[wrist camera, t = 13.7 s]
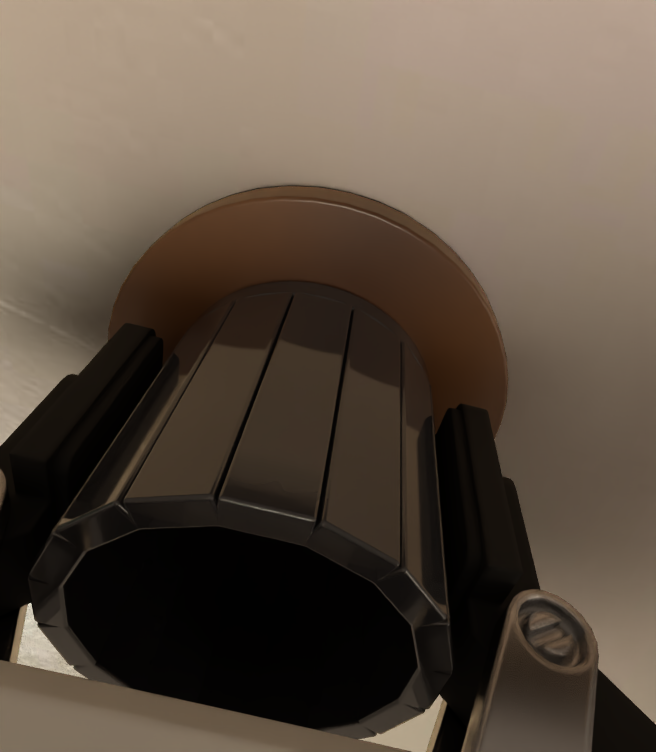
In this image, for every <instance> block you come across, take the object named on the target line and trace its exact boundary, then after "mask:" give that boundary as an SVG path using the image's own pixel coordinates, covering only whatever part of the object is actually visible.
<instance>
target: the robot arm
mask: <svg viewBox="0 0 656 752" xmlns="http://www.w3.org/2000/svg"><path fill="white" fill-rule="evenodd" d="M162 367H163V339H162V338H159V337H156V333H155V330H154V329H152V328H147V327H143V326H139V325H135V324H131V323H125V324H124V325H123V326H122V327H121V328H120V329H119V330H118V331H117V332H116V333H115V334H114V336H113V337H112V338H111V339H110V340H109V341H108V342H107V343H106V345H105V346H104V347H103V348H102V349H101V350H100V351H99V352H98V354H97V355H96V356H95V357H94V358H93V359H92V360H91V361H90V363H89V364H88V365H87V366H86V367H85V368H84V369H83V370H82V372H81V373H80V374H79V375H74V374H70V375H67V376H66V377H65V378H63V379H62V380H61V381H60V382H59V384H58V385H57V386H56V387H55V388H54V389H53V390H52V391H51V392H50V393H49V394H48V395H47V397H46V398H45V399H44V400H43V401H42V402H41V403H40V404H39V405H38V406H37V407H36V408H35V409H34V411H33V412H32V413H31V414H30V415H29V416H28V417H27V418H26V419H25V420H24V421H23V422H22V424H21V425H20V426H19V427H18V428H17V429H16V430H15V431H14V432H13V433H12V434H11V435H10V437H9V438H8V439H7V440H6V441H5V442H4V443H3V444H2V445H1V446H0V752H411V751H406V750H402V749H398V748H393V747H389V746H384V745H380V744H376V743H371V742H367V741H363V740H358V739H354V738H349V737H345V736H341V735H336V734H332V733H328V732H323V731H319V730H314V729H310V728H306V727H301V726H297V725H292V724H288V723H283V722H279V721H274V720H270V719H266V718H261V717H257V716H252V715H248V714H243V713H239V712H234V711H230V710H225V709H221V708H216V707H212V706H207V705H203V704H198V703H194V702H189V701H185V700H180V699H176V698H171V697H167V696H162V695H158V694H153V693H149V692H144V691H140V690H135V689H131V688H126V687H122V686H117V685H113V684H108V683H104V682H99V681H94V680H90V679H85V678H81V677H76V676H71V675H67V674H62V673H58V672H53V671H48V670H44V669H39V668H35V667H30V666H26V665H21V664H17V659H18V653H19V648H20V643H21V637H22V632H23V627H24V622H25V616H26V611H27V606H28V604H29V603H31V598H30V593H29V588H28V582H27V576H28V575H29V574H28V570H29V568H30V566H31V564H32V563H33V561H34V559H35V558H36V556H37V554H38V553H39V551H40V549H41V548H42V546H43V544H44V543H45V541H46V539H47V538H48V536H49V534H50V533H51V531H52V529H53V528H54V526H55V525H56V524H57V522H58V521H59V519H60V518H61V516H62V515H63V513H64V512H65V510H66V509H67V507H68V506H69V504H70V503H71V501H72V500H73V498H74V497H75V495H76V494H77V492H78V491H79V489H80V488H81V486H82V485H83V484H84V482H85V481H86V479H87V478H88V476H89V475H90V473H91V472H92V470H93V469H94V467H95V466H96V464H97V463H98V461H99V460H100V458H101V457H102V455H103V454H104V452H105V451H106V449H107V448H108V447H109V445H110V444H111V442H112V441H113V439H114V438H115V436H116V435H117V433H118V432H119V430H120V429H121V427H122V426H123V424H124V423H125V421H126V420H127V418H128V417H129V415H130V414H131V412H132V411H133V409H134V408H135V407H136V405H137V404H138V402H139V401H140V399H141V398H142V396H143V395H144V393H145V392H146V390H147V389H148V387H149V386H150V384H151V383H152V381H153V380H154V378H155V377H156V375H157V374H158V372H159V371H160V369H161V368H162ZM436 443H437V455H438V467H439V479H440V491H441V503H442V515H443V527H444V539H445V552H446V564H447V576H448V588H449V600H450V612H451V624H452V636H453V648H454V660H455V669H454V670H453V675H452V677H451V678H450V679H449V681H448V682H447V684H446V685H445V687H444V688H443V690H442V691H441V692H440V695H441V697H442V698H443V701H442V704H441V707H440V710H439V713H438V716H437V719H436V722H435V725H434V729H433V732H432V735H431V738H430V741H429V744H428V747H427V750H426V752H656V725H655V724H654V723H653V722H652V721H651V720H650V719H649V718H648V717H647V716H646V715H645V714H644V713H643V712H642V711H641V710H640V709H639V708H638V707H637V706H636V705H635V704H634V703H633V702H632V701H631V700H630V699H629V698H628V697H627V696H626V695H625V694H624V693H623V692H622V691H621V690H619V689H618V688H617V687H616V686H615V685H614V684H613V683H612V682H611V681H610V680H609V679H608V678H607V677H606V676H605V675H604V674H603V673H602V672H601V671H600V670H599V669H598V659H599V654H598V644H597V641H596V638H595V636H594V633H593V631H592V629H591V627H590V626H589V624H588V623H587V622H586V620H585V619H584V617H583V616H582V615H581V614H580V613H579V612H578V611H577V610H576V609H575V608H574V607H573V606H572V605H571V604H569V603H568V602H566V601H565V600H563V599H562V598H560V597H559V596H557V595H554V594H552V593H549V592H547V591H543V590H540V586H539V582H538V578H537V574H536V570H535V565H534V561H533V557H532V553H531V549H530V545H529V541H528V536H527V532H526V528H525V524H524V520H523V516H522V512H521V507H520V503H519V499H518V495H517V491H516V487H515V485H514V482H513V481H512V480H511V479H510V478H506V477H502V473H501V468H500V464H499V459H498V455H497V450H496V445H495V441H494V436H493V432H492V427H491V422H490V418H489V413H488V411H487V410H486V409H483V408H479V407H474V406H470V405H466V404H462V403H460V404H459V405H458V406H457V407H456V409H454V408H448V409H447V411H446V413H445V415H444V417H443V419H442V422H441V424H440V426H439V429H438V431H437V433H436Z"/></svg>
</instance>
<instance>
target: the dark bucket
mask: <svg viewBox="0 0 656 752" xmlns="http://www.w3.org/2000/svg"><path fill="white" fill-rule="evenodd" d="M28 574H29V575H28V576H27V582H28V588H29V593H30V598H31V604H32V609H33V614H34V619H35V621H37V622H38V627H39V629H40V630H41V631H42V632H43V634H44V635H45V636H46V637H47V639H48V640H49V641H50V642H51V643H52V645H53V646H54V647H55V648H56V650H57V651H58V652H59V653H60V655H61V656H62V657H63V658H64V660H65V661H66V662H67V663H68V664H69V665H74V667H73V668H74V669H75V670H76V671H77V672H79V673H80V674H82V675H83V676H85V677H86V678H88V679H90V680H94V681H99V682H104V683H108V684H113V685H117V686H122V687H126V688H131V689H135V690H140V691H144V692H149V693H153V694H158V695H162V696H167V697H171V698H176V699H180V700H185V701H189V702H194V703H198V704H203V705H207V706H212V707H216V708H221V709H225V710H230V711H234V712H239V713H243V714H248V715H252V716H257V717H261V718H266V719H270V720H274V721H279V722H283V723H288V724H292V725H297V726H301V727H306V728H310V729H314V730H319V731H323V732H328V733H332V734H336V735H341V736H345V737H349V738H354V739H362V738H368V737H374V736H376V735H377V733H378V734H383V733H385V732H387V731H389V730H391V729H393V728H395V727H397V726H399V725H401V724H403V723H405V722H407V721H409V720H411V719H413V718H415V717H417V716H419V715H421V714H423V713H424V712H425V709H429V708H430V707H431V705H432V704H433V702H434V701H435V700H436V698H437V697H438V695H439V694H440V692H441V691H442V690H443V688H444V687H445V685H446V684H447V682H448V681H449V679H450V678H451V677H452V675H453V670H454V669H455V660H454V648H453V636H452V624H451V612H450V600H449V588H448V576H447V564H446V552H445V539H444V527H443V515H442V503H441V491H440V479H439V467H438V455H437V443H436V431H435V420H434V410H433V398H432V388H431V383H430V377H429V373H428V370H427V368H426V365H425V362H424V360H423V358H422V356H421V354H420V352H419V350H418V348H417V346H416V345H415V344H414V342H413V341H412V340H411V338H410V337H409V335H408V334H407V333H406V332H405V331H404V330H403V329H402V328H401V327H400V326H399V325H398V324H397V322H396V321H395V320H393V319H392V318H391V317H390V316H388V315H387V314H386V313H385V312H383V311H382V310H381V309H379V308H378V307H376V306H374V305H373V304H371V303H369V302H368V301H366V300H364V299H363V298H360V297H358V296H356V295H354V294H351V293H349V292H347V291H344V290H341V289H338V288H334V287H331V286H328V285H323V284H317V283H311V282H300V281H280V282H269V283H264V284H258V285H253V286H250V287H247V288H244V289H241V290H238V291H235V292H233V293H231V294H229V295H227V296H225V297H223V298H221V299H220V300H218V301H217V302H216V303H214V304H213V305H211V306H210V307H208V308H207V309H206V310H205V311H204V312H203V313H202V314H201V315H200V316H199V317H198V318H197V319H196V320H195V321H194V323H193V324H192V325H191V327H190V328H188V330H187V331H186V332H185V334H184V335H183V337H182V338H181V340H180V341H179V343H178V344H177V346H176V347H175V349H174V350H173V352H172V353H171V355H170V356H169V358H168V359H167V361H166V362H165V364H164V365H163V367H162V368H161V369H160V371H159V372H158V374H157V375H156V377H155V378H154V380H153V381H152V383H151V384H150V386H149V387H148V389H147V390H146V392H145V393H144V395H143V396H142V398H141V399H140V401H139V402H138V404H137V405H136V407H135V408H134V409H133V411H132V412H131V414H130V415H129V417H128V418H127V420H126V421H125V423H124V424H123V426H122V427H121V429H120V430H119V432H118V433H117V435H116V436H115V438H114V439H113V441H112V442H111V444H110V445H109V447H108V448H107V449H106V451H105V452H104V454H103V455H102V457H101V458H100V460H99V461H98V463H97V464H96V466H95V467H94V469H93V470H92V472H91V473H90V475H89V476H88V478H87V479H86V481H85V482H84V484H83V485H82V486H81V488H80V489H79V491H78V492H77V494H76V495H75V497H74V498H73V500H72V501H71V503H70V504H69V506H68V507H67V509H66V510H65V512H64V513H63V515H62V516H61V518H60V519H59V521H58V522H57V524H56V525H55V526H54V528H53V529H52V531H51V533H50V534H49V536H48V538H47V539H46V541H45V543H44V544H43V546H42V548H41V549H40V551H39V553H38V554H37V556H36V558H35V559H34V561H33V563H32V564H31V566H30V568H29V570H28Z"/></svg>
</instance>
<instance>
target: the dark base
mask: <svg viewBox="0 0 656 752" xmlns="http://www.w3.org/2000/svg"><path fill="white" fill-rule="evenodd" d="M280 281H300V282H311V283H317V284H323V285H328V286H331V287H334V288H338V289H341V290H344V291H347V292H349V293H351V294H354V295H356V296H358V297H360V298H363V299H364V300H366V301H368V302H369V303H371V304H373V305H374V306H376V307H378V308H379V309H381V310H382V311H383V312H385V313H386V314H387V315H388V316H390V317H391V318H392V319H393V320H395V321H396V322H397V324H398V325H399V326H400V327H401V328H402V329H403V330H404V331H405V332H406V333H407V334H408V335H409V337H410V338H411V340H412V341H413V342H414V344H415V345H416V346H417V348H418V350H419V352H420V354H421V356H422V358H423V360H424V362H425V365H426V368H427V370H428V373H429V377H430V383H431V388H432V398H433V410H434V420H435V431H436V433H437V431H438V429H439V426H440V424H441V422H442V419H443V417H444V415H445V413H446V411H447V409H448V408H454V409H456V407H457V406H458V405H459V404H460V403H462V404H466V405H470V406H474V407H479V408H483V409H486V410H487V411H488V413H489V418H490V422H491V427H492V432H493V436H494V439H495V437H496V434H497V432H498V430H499V427H500V425H501V422H502V418H503V414H504V410H505V406H506V402H507V390H508V369H507V358H506V353H505V349H504V345H503V341H502V337H501V333H500V330H499V327H498V323H497V320H496V317H495V315H494V312H493V310H492V308H491V305H490V303H489V301H488V299H487V296H486V294H485V292H484V291H483V289H482V288H481V286H480V284H479V283H478V281H477V280H476V278H475V276H474V275H473V273H472V272H471V271H470V269H469V268H468V267H467V266H466V265H465V264H464V262H463V261H462V260H461V259H460V258H459V257H458V255H457V254H456V253H455V252H454V251H453V250H452V249H451V248H450V247H449V246H447V245H446V244H445V243H444V242H443V241H442V240H441V239H439V238H438V237H437V236H436V235H435V234H434V233H433V232H431V231H430V230H428V229H427V228H425V227H424V226H422V225H421V224H419V223H418V222H416V221H415V220H413V219H412V218H410V217H408V216H407V215H405V214H403V213H401V212H399V211H396V210H394V209H392V208H390V207H388V206H386V205H384V204H382V203H380V202H377V201H374V200H370V199H367V198H364V197H361V196H358V195H355V194H352V193H348V192H342V191H337V190H331V189H326V188H320V187H300V186H284V187H273V188H262V189H256V190H252V191H248V192H243V193H239V194H235V195H231V196H228V197H226V198H223V199H221V200H218V201H216V202H213V203H211V204H208V205H206V206H204V207H202V208H200V209H199V210H197V211H195V212H194V213H192V214H190V215H188V216H187V217H185V218H183V219H182V220H181V221H179V222H178V223H177V224H176V225H174V226H173V227H172V228H171V229H170V230H168V231H167V232H166V233H165V234H164V235H162V236H161V237H160V238H159V239H158V240H157V241H156V242H155V243H154V244H153V245H152V246H151V247H150V248H149V249H148V250H147V251H146V252H145V253H144V255H143V256H142V257H141V258H140V259H139V260H138V261H137V263H136V264H135V265H134V266H133V268H132V270H131V271H130V273H129V274H128V276H127V278H126V279H125V281H124V283H123V284H122V286H121V288H120V291H119V293H118V296H117V298H116V301H115V303H114V306H113V310H112V315H111V319H110V324H109V328H108V341H109V340H110V339H111V338H112V337H113V336H114V334H115V333H116V332H117V331H118V330H119V329H120V328H121V327H122V326H123V325H124V324H125V323H131V324H135V325H139V326H143V327H147V328H152V329H154V330H155V333H156V337H159V338H162V339H163V365H164V364H165V362H166V361H167V359H168V358H169V356H170V355H171V353H172V352H173V350H174V349H175V347H176V346H177V344H178V343H179V341H180V340H181V338H182V337H183V335H184V334H185V332H186V331H187V330H188V328H190V327H191V325H192V324H193V323H194V321H195V320H196V319H197V318H198V317H199V316H200V315H201V314H202V313H203V312H204V311H205V310H206V309H207V308H208V307H210V306H211V305H213V304H214V303H216V302H217V301H218V300H220V299H221V298H223V297H225V296H227V295H229V294H231V293H233V292H235V291H238V290H241V289H244V288H247V287H250V286H253V285H258V284H264V283H269V282H280Z"/></svg>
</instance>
